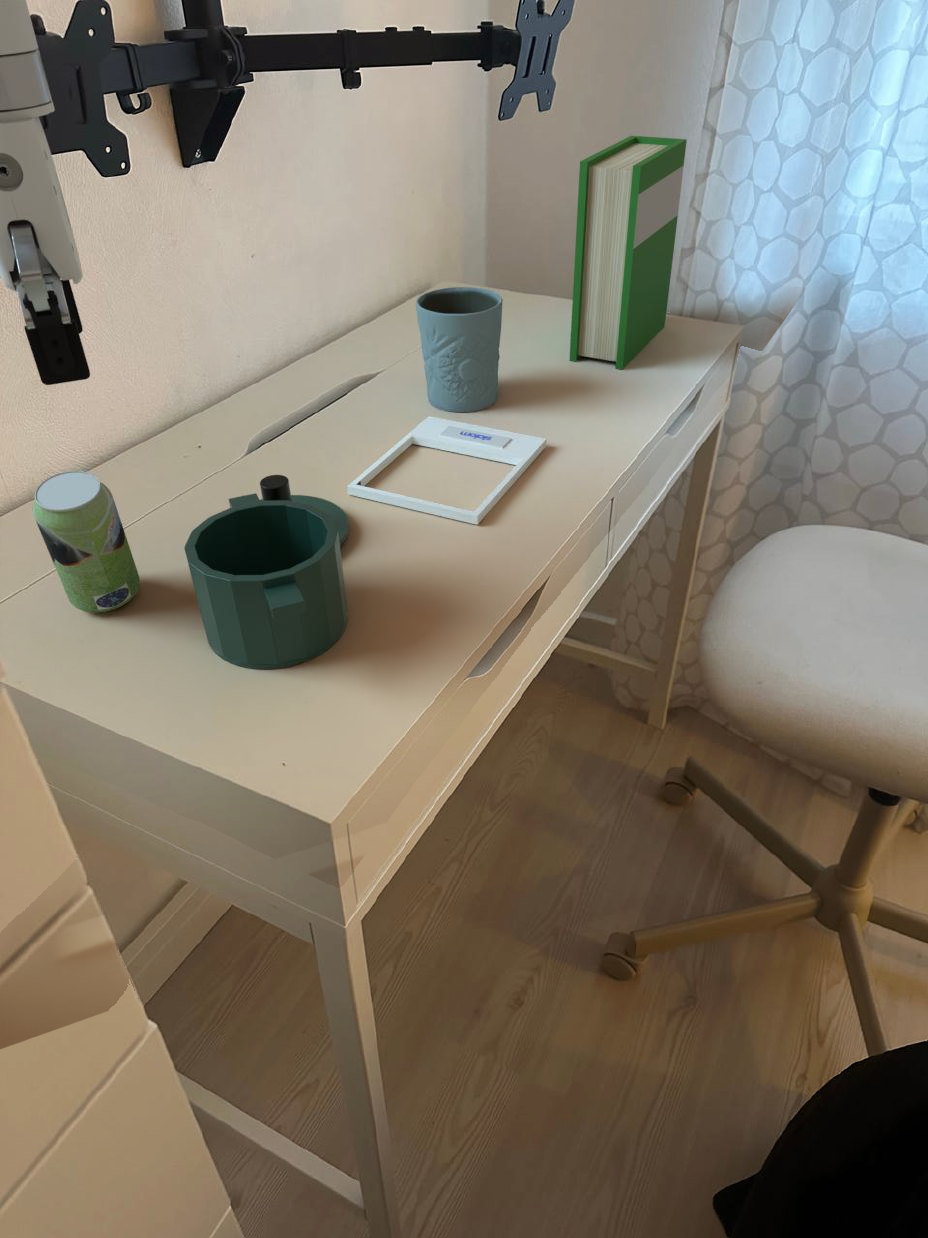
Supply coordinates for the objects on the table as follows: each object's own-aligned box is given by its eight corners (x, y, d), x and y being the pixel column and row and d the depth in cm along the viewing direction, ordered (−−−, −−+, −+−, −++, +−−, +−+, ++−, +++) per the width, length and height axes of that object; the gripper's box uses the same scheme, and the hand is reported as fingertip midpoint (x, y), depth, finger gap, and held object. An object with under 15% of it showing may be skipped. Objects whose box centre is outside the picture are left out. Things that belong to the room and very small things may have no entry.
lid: (229, 588, 79) (216, 529, 75) (206, 520, 88) (193, 464, 84) (366, 556, 82) (360, 498, 79) (330, 494, 92) (323, 439, 88)
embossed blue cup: (478, 421, 105) (477, 319, 97) (404, 405, 108) (398, 306, 101) (515, 389, 112) (517, 292, 104) (445, 375, 116) (442, 280, 108)
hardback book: (622, 369, 116) (640, 166, 101) (569, 360, 119) (580, 161, 104) (664, 326, 128) (686, 139, 114) (615, 318, 131) (631, 135, 116)
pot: (226, 707, 67) (204, 617, 61) (192, 586, 79) (171, 502, 74) (374, 667, 70) (365, 578, 65) (319, 556, 83) (307, 474, 77)
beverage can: (136, 571, 81) (101, 451, 74) (152, 615, 76) (115, 491, 69) (64, 590, 79) (20, 469, 72) (74, 636, 74) (28, 510, 66)
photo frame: (546, 437, 98) (477, 514, 85) (546, 446, 99) (477, 524, 86) (428, 414, 103) (346, 484, 91) (429, 423, 104) (348, 494, 91)
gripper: (51, 102, 50) (127, 391, 60) (45, 69, 63) (108, 313, 73) (-97, 112, 48) (9, 411, 58) (-72, 76, 61) (10, 326, 71)
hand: (64, 356), depth 66 cm, fingers open, 9 cm apart
